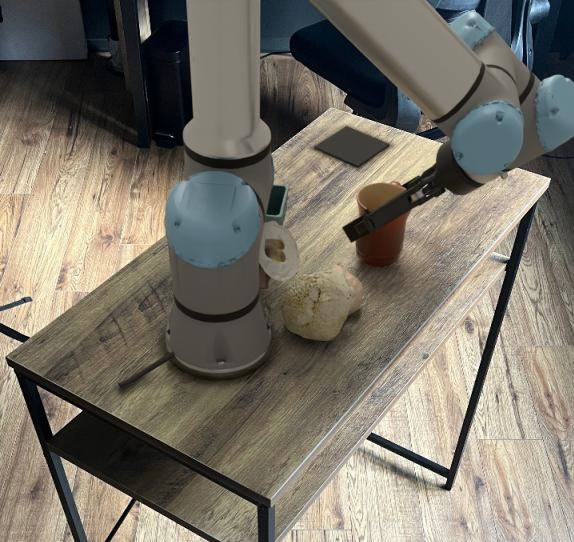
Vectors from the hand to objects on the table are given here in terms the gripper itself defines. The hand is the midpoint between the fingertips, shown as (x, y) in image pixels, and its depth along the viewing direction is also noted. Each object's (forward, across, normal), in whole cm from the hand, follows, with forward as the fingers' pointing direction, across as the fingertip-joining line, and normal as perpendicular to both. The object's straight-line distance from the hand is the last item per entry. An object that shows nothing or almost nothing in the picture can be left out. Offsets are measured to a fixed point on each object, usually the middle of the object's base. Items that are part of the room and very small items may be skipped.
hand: (371, 216), depth 129 cm
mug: (+2, 0, -6) cm, 6 cm away
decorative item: (-3, -22, -10) cm, 25 cm away
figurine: (-2, -19, +3) cm, 19 cm away
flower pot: (+14, -12, +6) cm, 19 cm away
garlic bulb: (-3, -18, -6) cm, 20 cm away
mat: (+19, +24, +11) cm, 32 cm away
